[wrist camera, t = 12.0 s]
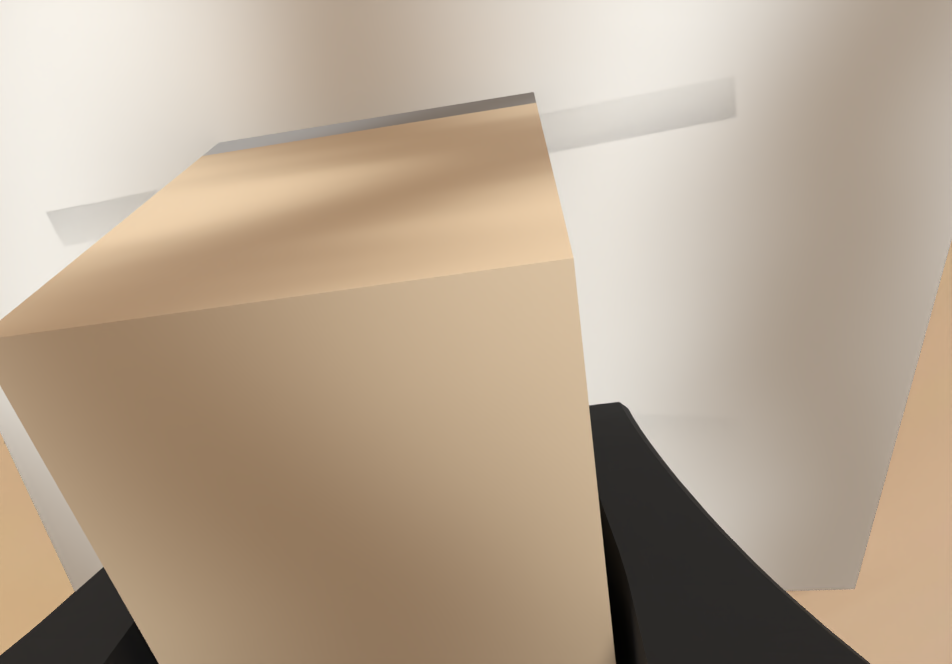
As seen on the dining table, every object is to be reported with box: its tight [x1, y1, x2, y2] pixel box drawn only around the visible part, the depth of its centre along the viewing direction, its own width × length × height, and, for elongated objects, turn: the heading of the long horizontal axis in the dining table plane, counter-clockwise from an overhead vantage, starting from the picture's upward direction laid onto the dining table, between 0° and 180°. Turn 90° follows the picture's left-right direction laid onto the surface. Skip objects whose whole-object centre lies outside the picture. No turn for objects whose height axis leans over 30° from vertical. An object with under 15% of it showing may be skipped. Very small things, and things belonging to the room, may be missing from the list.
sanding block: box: [0, 92, 616, 664], centre depth 9 cm, size 4×8×5 cm, turn 9°
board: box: [0, 0, 952, 591], centre depth 9 cm, size 14×18×1 cm
